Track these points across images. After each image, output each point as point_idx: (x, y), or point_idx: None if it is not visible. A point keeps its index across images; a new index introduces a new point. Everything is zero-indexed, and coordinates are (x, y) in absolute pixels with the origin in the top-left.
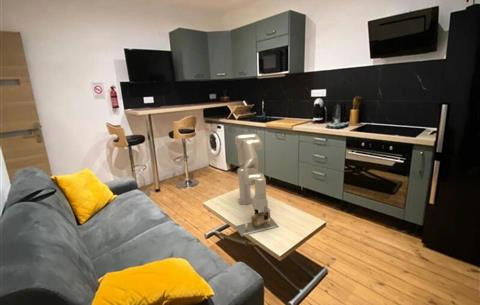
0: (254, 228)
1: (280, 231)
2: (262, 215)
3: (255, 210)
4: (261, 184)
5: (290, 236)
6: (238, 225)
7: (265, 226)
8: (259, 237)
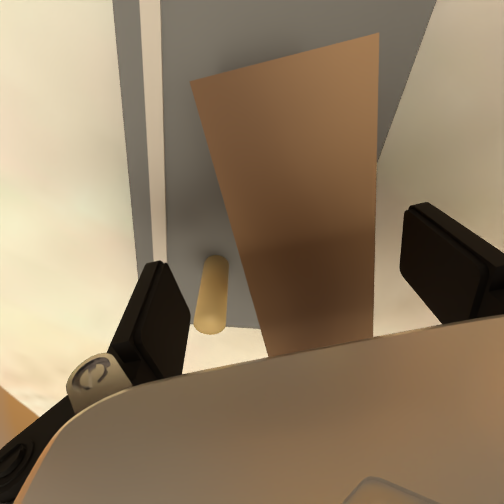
0: (234, 59)
1: (104, 296)
2: (252, 297)
3: (479, 270)
4: None
5: (11, 321)
6: None
7: (207, 220)
8: (42, 28)
